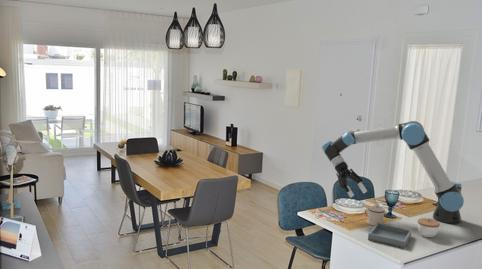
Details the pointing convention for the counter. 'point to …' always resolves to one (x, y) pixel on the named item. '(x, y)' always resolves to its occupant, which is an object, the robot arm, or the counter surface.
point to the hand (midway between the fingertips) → (359, 194)
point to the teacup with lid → (375, 214)
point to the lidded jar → (428, 227)
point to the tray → (390, 235)
